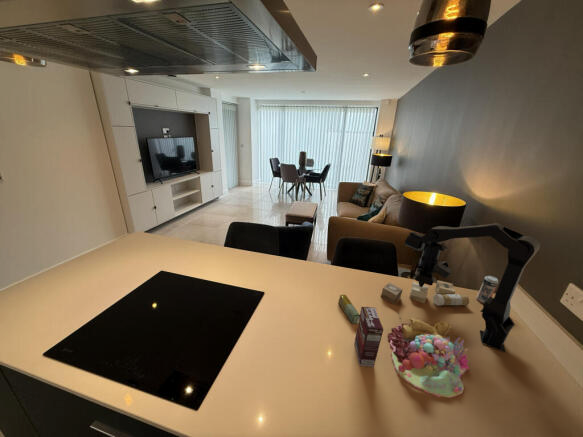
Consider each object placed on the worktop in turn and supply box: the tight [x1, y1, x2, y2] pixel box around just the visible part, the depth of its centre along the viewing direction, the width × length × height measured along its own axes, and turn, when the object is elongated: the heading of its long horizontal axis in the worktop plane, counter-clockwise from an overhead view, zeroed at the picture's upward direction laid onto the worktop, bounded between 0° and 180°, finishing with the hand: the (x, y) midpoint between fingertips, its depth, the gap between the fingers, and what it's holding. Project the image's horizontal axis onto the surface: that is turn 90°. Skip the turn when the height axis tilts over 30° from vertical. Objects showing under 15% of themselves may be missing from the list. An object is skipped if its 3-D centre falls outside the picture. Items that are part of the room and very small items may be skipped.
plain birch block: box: [408, 281, 429, 304], centre depth 103 cm, size 6×6×5 cm
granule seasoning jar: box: [432, 293, 470, 307], centre depth 99 cm, size 5×5×14 cm
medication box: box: [337, 294, 360, 325], centre depth 91 cm, size 12×3×4 cm, turn 15°
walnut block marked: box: [380, 282, 403, 305], centre depth 101 cm, size 6×6×5 cm
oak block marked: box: [434, 280, 456, 295], centre depth 105 cm, size 6×6×5 cm
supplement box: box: [353, 306, 384, 367], centre depth 72 cm, size 9×5×16 cm, turn 177°
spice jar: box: [475, 275, 500, 304], centre depth 101 cm, size 5×5×12 cm
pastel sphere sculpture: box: [387, 318, 470, 399], centre depth 74 cm, size 25×24×9 cm
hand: (420, 286), depth 101 cm, fingers closed
